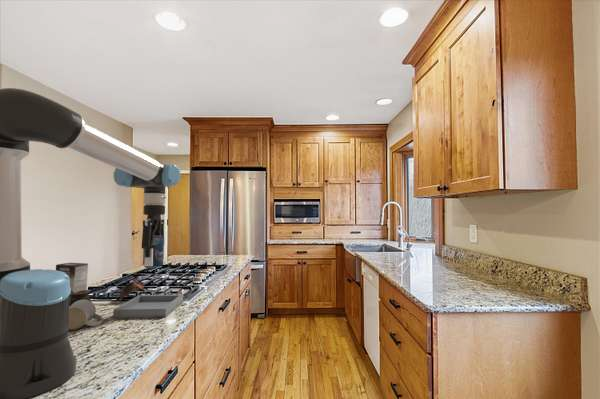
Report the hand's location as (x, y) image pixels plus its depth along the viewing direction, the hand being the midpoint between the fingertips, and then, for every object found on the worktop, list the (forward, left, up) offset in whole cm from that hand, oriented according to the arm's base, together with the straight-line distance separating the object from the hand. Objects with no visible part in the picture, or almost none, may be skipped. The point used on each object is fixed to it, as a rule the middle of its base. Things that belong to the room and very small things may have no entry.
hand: (153, 264), depth 113 cm
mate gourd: (-4, +24, -17) cm, 30 cm away
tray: (0, 0, -17) cm, 17 cm away
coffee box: (+9, +36, -17) cm, 41 cm away
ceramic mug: (-15, +15, -18) cm, 28 cm away
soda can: (0, 0, -1) cm, 1 cm away
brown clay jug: (+15, +14, -18) cm, 27 cm away
